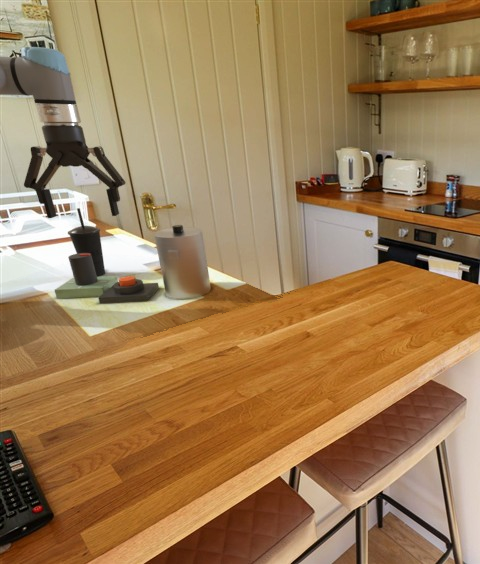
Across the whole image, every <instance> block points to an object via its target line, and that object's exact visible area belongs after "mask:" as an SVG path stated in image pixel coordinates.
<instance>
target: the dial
mask: <svg viewBox="0 0 480 564" xmlns="http://www.w3.org/2000/svg"><path fill="white" fill-rule="evenodd" d="M68 261H69V265H70V268H71V271H72V276H73V278H74V279H75V283H76V285H90V284H93V283H96V282H97V281H98V280H97V276H96V272H95V268H94V264H93V260H92V256H91V254H90V253H78V254H77V253H73V254H71V255H68Z"/></svg>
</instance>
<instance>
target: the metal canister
mask: <svg viewBox="0 0 480 564" xmlns="http://www.w3.org/2000/svg"><path fill="white" fill-rule="evenodd" d="M153 235H154V241H155V246H156V252H157V257H158V262H159V266H160V270H161V276H162V282H163V288H164V291H165V296H166V297H167V298H169V299H172V300H173V299H174V300H187V299H195V298H198V297H202V296H204V295H206V294H208V293H209V292H210V291H211V290H212V285H211V280H210V274H209V273H210V272H209V267H208V260H207V253H206V248H205V242H204V235H203V229H201V228H199V227H194V226H183V225H182V224H175V225H174V224H173V225H172V226H171V227H169V228H164V229H161V230H158V231H156V232H154V234H153Z"/></svg>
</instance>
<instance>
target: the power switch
mask: <svg viewBox="0 0 480 564" xmlns="http://www.w3.org/2000/svg"><path fill="white" fill-rule="evenodd" d="M135 279H136V277H135V276H133V275H129V276H128V275H127V276H122V277H120V278H119V279H118V282H119V283H120V286H131V285H134V284H136V280H135Z"/></svg>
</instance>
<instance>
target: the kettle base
mask: <svg viewBox="0 0 480 564" xmlns="http://www.w3.org/2000/svg"><path fill="white" fill-rule="evenodd" d="M135 280H136V284H134V285H131V286H120V283H119V281H118V282H117V283H115V284H114V285H113V286H112V287H111V288H109V289H108V290H107V291H106V292H105V293H103V294H102V295H101V296H98V298H97V299H98V303H99V304H116V303H117V304H119V303H135V302H148V301H149V300H150V299H151V298H152V297H153V295H155V293H156V292H157V291H158V290H159V289H160V286H159V282H144V281H143V280H142V279H138V278H135Z"/></svg>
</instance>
